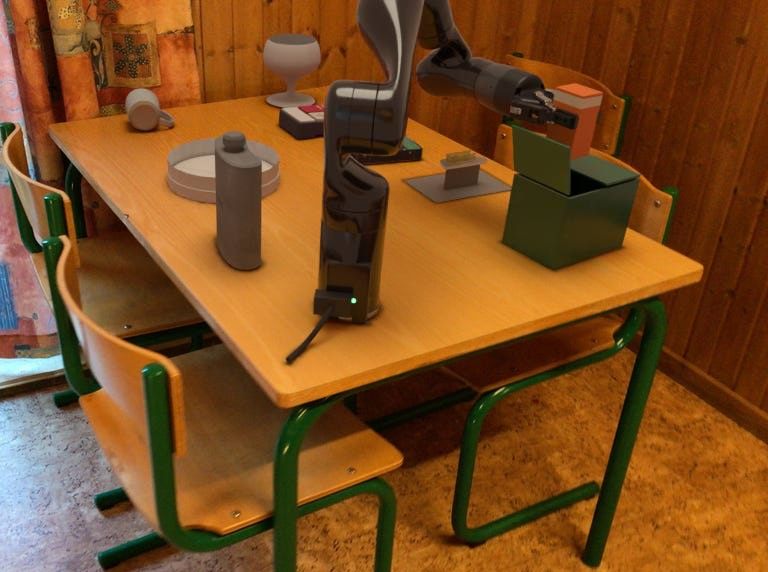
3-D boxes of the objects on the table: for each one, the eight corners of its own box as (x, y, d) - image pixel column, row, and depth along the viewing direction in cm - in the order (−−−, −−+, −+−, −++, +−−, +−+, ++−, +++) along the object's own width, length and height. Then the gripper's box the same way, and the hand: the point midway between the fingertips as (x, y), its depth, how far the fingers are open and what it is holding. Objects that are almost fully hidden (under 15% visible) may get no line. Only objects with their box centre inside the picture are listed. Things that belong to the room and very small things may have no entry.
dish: (256, 211, 155) (256, 185, 152) (147, 193, 160) (145, 168, 158) (294, 169, 172) (295, 145, 170) (195, 154, 178) (194, 131, 175)
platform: (403, 180, 169) (406, 148, 165) (478, 168, 175) (482, 137, 172) (436, 202, 160) (440, 169, 156) (513, 189, 166) (519, 157, 163)
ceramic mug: (129, 133, 188) (126, 98, 184) (126, 121, 195) (124, 88, 190) (176, 131, 190) (175, 97, 186) (172, 120, 197) (171, 86, 193)
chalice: (329, 105, 209) (332, 42, 200) (281, 113, 202) (282, 49, 194) (299, 90, 218) (301, 30, 210) (252, 98, 212) (252, 36, 204)
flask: (210, 233, 147) (207, 119, 135) (243, 230, 148) (242, 117, 137) (228, 273, 135) (226, 151, 123) (264, 269, 136) (265, 149, 125)
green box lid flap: (570, 194, 131) (568, 195, 131) (515, 169, 139) (513, 170, 139) (570, 147, 125) (568, 148, 125) (513, 124, 134) (511, 125, 133)
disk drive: (357, 167, 175) (422, 160, 178) (357, 154, 173) (424, 147, 177) (340, 149, 183) (403, 143, 187) (340, 137, 181) (404, 131, 185)
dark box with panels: (359, 115, 191) (299, 120, 185) (357, 134, 193) (298, 139, 187) (336, 102, 199) (279, 105, 193) (335, 120, 201) (277, 124, 195)
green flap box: (553, 270, 138) (570, 194, 131) (501, 242, 146) (514, 169, 139) (621, 247, 146) (641, 174, 138) (569, 222, 154) (585, 152, 147)
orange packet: (569, 160, 132) (583, 96, 126) (543, 149, 136) (555, 86, 130) (588, 155, 134) (603, 92, 128) (562, 144, 138) (575, 82, 132)
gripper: (480, 73, 136) (560, 102, 124) (543, 62, 142) (625, 89, 131) (473, 119, 140) (550, 152, 128) (534, 107, 147) (613, 136, 135)
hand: (587, 120), depth 129 cm, fingers closed on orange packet, 4 cm apart
